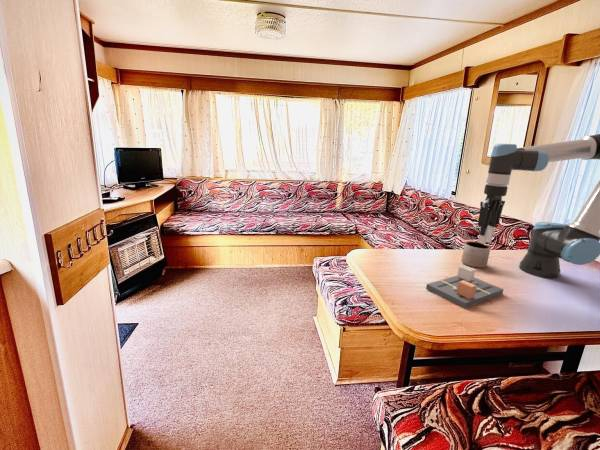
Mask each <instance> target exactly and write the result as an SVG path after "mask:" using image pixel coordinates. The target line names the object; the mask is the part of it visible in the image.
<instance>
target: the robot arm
mask: <svg viewBox="0 0 600 450" xmlns="http://www.w3.org/2000/svg"><path fill="white" fill-rule="evenodd" d="M490 156H491V157H490V161H489V166H488V171H487V172H488V173H487V175H486V182H485V183H486V184H485V186H484V191H483V193H484V194H485V195H486V197H485V201H480V203H479V204H480V206H479V207H480V208H479V215H478V219H477V221H478V222H477V227H480V228H479V229H480V230H479V235H478V240H477V242H479V243H483V244H486V243H489V244H491V243H492V240H493V237H494V236H493V235H494V231H495V228H498V227H499V224H500V220H501V215H502V212H503V209H504V206H505V203H506V200H502V199H503V197H505V196H506V195H507V193H508V189H509V188H508V185H510V179H511V175H512V171H522V172H523V171H526V172H542V171H543V170H545V169H546V168H547V166H548V164H549V163H552V162H553V163H555V162H559V161H560V162H562V161H568V160H574V159H575V160H578V159H580V160H584V161H587V160H600V133H598V134H594V135H586V136H583V137H581V138H580V139H575V140H567V141H560V142H554V143H546V144H539V145H531V146H530V145H529V146H523V147H517V144H516V143H515V144H513V143H496V144H494V146H493V149H492V150H491V154H490ZM531 232H532V233H531V236H530V240H529V245H528V248H527V252H526V254H525V255H524V256H523V257H522V260H520V262H519V265H518V268H519V269H520V270H521V271H524V272H525V273H527V274H530V275H534V276H537V277H543V278H549V279H556V278H559V277H560V275H561V265H560V259H562V261H565V262H567V263H570V264H573V265H577V266H583V265H586V264H590V263H592V262H594V261H595V260H597V259H598V258H599V256H600V180H599V181H598V183H597V184H596V186H594V189H593V190H592V192H591V193H590V195H589V196H588V198H587V200H586V202H585V203H584V205H583V206H582V207H581V209H580V211H579V212H578V214H577V216H576V217H575V218H574V220H573V221H572V222H570V223H567V224H565V223H558V222H549V221H537V222H536V223H535V224H534V226H533V228H532V231H531Z"/></svg>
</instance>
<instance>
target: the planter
mask: <svg viewBox="0 0 600 450" xmlns="http://www.w3.org/2000/svg"><path fill="white" fill-rule="evenodd" d="M490 251H491V246H490V245H488V244H486V243H485V244H483V243H479V242H478V241H474V240H473V241H472V240H471V241H465V242H464V246H463V250H462V255H461V259H460V260H461V263H463V265H465V266H467V267H470V268H471V267H472V268H479V269H481V268H482V269H483V268H486V267H487V266H488V262H489V257H490V253H491V252H490Z"/></svg>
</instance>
